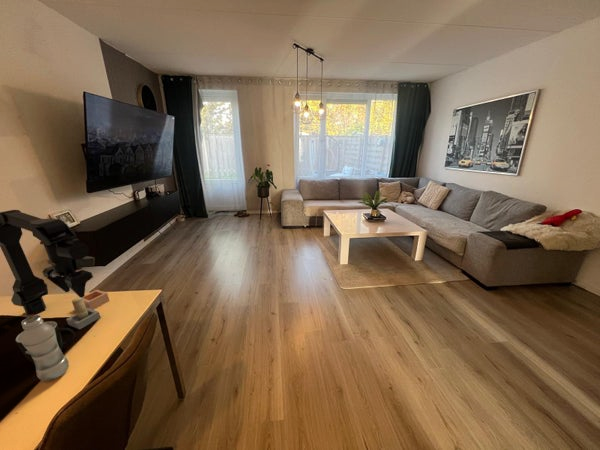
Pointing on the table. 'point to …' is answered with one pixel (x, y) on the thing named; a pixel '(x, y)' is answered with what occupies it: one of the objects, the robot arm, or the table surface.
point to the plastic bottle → (43, 348)
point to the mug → (58, 337)
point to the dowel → (80, 308)
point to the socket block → (84, 322)
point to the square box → (95, 299)
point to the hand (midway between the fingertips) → (75, 294)
